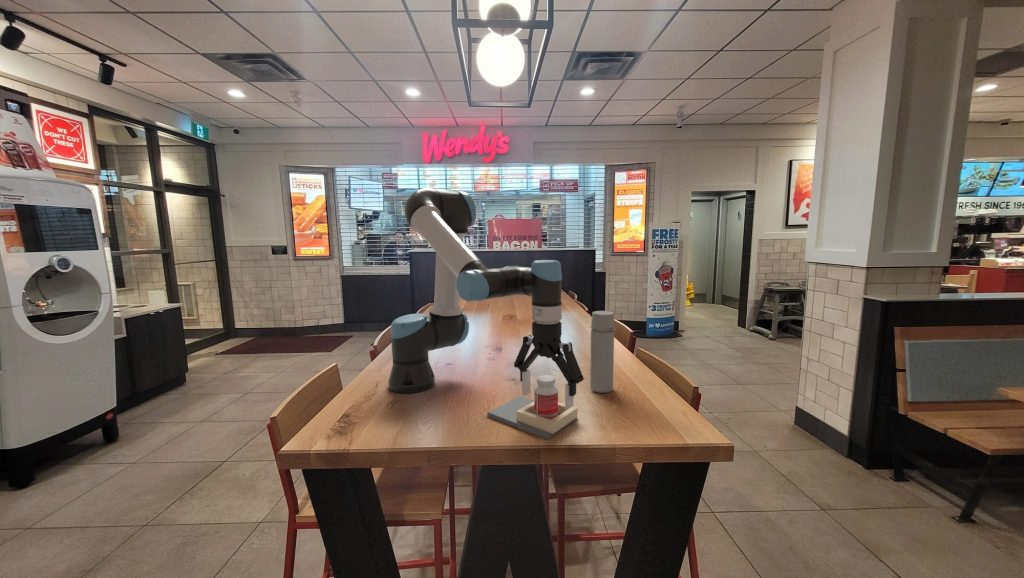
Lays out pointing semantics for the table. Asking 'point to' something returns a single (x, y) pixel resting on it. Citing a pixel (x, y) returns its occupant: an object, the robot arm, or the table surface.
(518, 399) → the socket board
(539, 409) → the pill bottle
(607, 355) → the water bottle
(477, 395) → the table surface
